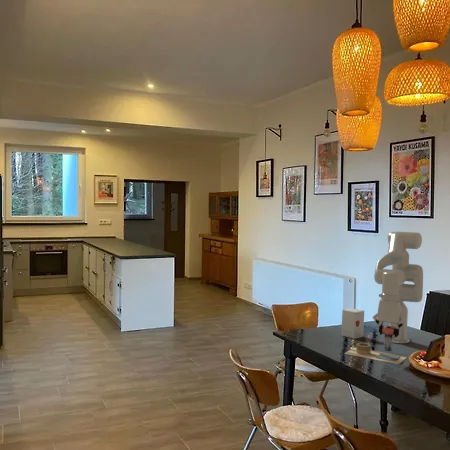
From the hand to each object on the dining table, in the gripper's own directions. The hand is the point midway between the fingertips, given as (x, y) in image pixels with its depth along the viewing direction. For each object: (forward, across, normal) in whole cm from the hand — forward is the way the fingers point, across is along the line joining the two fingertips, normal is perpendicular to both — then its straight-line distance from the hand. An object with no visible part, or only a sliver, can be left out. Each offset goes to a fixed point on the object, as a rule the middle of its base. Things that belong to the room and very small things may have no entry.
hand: (388, 335), depth 234 cm
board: (+12, -6, 0) cm, 14 cm away
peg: (+7, 0, 0) cm, 7 cm away
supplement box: (+12, -30, +33) cm, 46 cm away
